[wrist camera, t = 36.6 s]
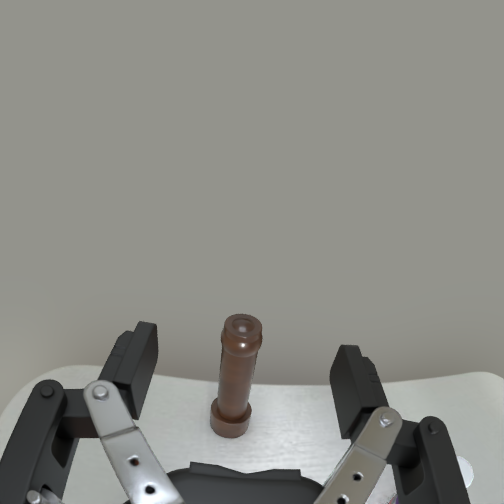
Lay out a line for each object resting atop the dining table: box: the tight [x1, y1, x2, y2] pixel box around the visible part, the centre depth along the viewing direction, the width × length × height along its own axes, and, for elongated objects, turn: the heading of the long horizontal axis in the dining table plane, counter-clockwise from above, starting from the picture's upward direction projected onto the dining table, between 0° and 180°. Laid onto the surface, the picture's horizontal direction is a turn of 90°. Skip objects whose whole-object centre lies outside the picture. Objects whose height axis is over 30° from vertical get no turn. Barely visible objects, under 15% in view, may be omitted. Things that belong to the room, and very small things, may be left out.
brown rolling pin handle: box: [210, 314, 262, 438], centre depth 30 cm, size 4×4×15 cm
